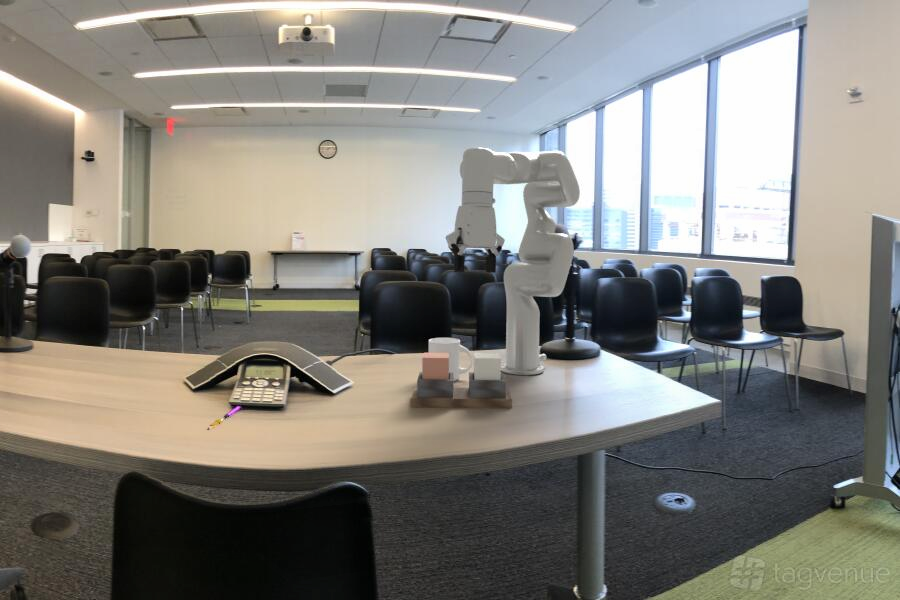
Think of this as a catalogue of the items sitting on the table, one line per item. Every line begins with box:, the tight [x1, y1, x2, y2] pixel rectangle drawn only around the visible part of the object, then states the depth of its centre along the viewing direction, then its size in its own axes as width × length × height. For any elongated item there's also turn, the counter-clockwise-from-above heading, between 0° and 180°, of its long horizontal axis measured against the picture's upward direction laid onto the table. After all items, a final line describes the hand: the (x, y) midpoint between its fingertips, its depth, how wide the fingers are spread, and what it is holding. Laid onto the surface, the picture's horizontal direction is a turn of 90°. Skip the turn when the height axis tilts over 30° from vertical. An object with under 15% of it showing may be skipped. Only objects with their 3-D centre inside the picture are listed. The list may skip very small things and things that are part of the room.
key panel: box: [410, 371, 513, 409], centre depth 134 cm, size 23×10×6 cm, turn 89°
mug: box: [428, 337, 473, 382], centre depth 156 cm, size 9×12×11 cm
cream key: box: [473, 352, 502, 380], centre depth 134 cm, size 6×6×6 cm
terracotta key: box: [421, 352, 449, 380], centre depth 134 cm, size 6×6×6 cm
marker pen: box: [209, 405, 242, 426], centre depth 122 cm, size 3×1×16 cm
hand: (475, 272), depth 138 cm, fingers open, 9 cm apart
